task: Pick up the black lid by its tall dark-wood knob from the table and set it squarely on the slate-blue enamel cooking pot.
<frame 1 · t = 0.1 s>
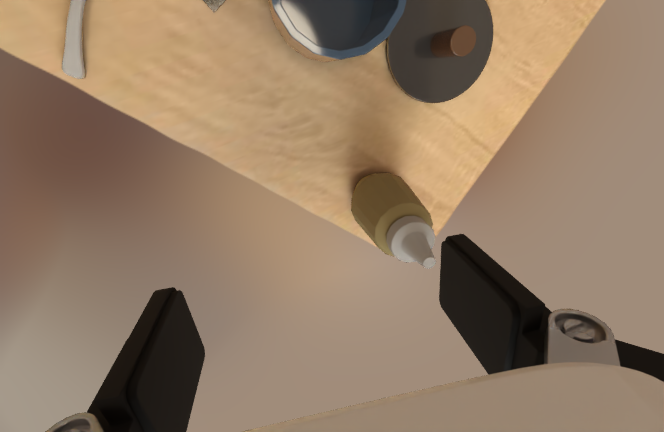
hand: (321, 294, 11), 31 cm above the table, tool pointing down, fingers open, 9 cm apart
spoon: (84, 16, 32), on the table
pot: (324, 0, 34), on the table
lid: (439, 45, 37), point 1 cm above the table
squeeze bottle: (373, 192, 45), on the table
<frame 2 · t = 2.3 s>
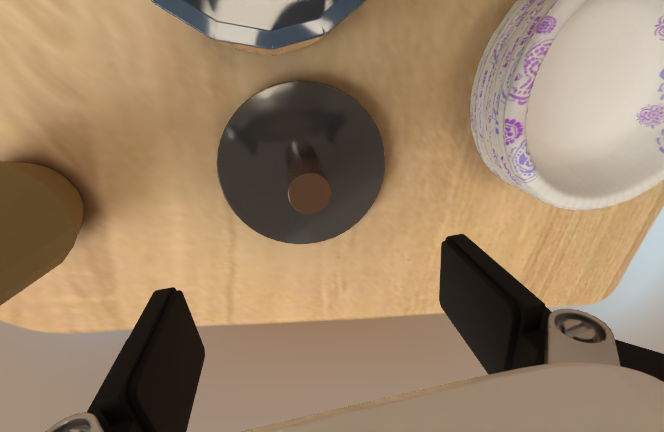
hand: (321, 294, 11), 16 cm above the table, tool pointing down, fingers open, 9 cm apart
paper bowls: (535, 87, 26), on the table
lid: (303, 169, 25), point 1 cm above the table
squeeze bottle: (42, 199, 24), on the table
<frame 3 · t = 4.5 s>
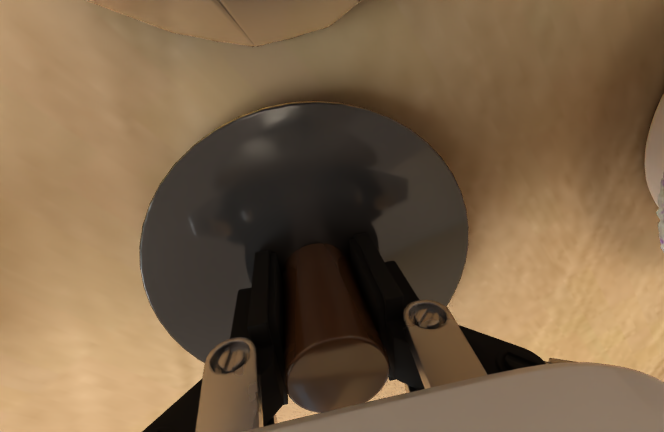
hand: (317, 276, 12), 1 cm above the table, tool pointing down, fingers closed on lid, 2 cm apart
lid: (315, 265, 13), point 1 cm above the table, touching gripper
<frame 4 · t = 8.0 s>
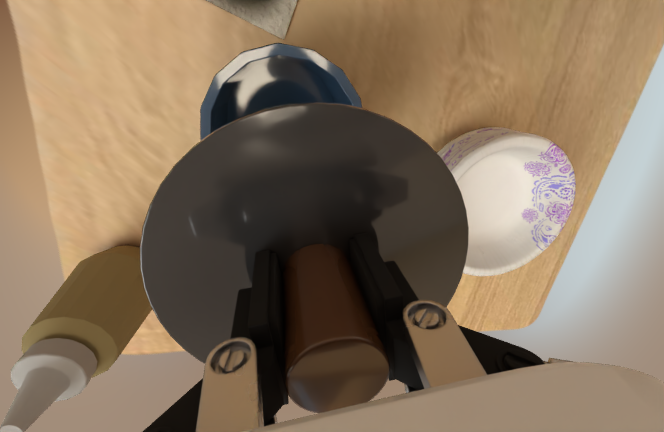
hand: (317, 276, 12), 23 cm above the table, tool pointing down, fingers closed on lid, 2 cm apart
pot: (282, 119, 32), on the table
paper bowls: (462, 187, 38), on the table
lid: (315, 265, 13), point 22 cm above the table, touching gripper
squeeze bottle: (132, 266, 35), on the table
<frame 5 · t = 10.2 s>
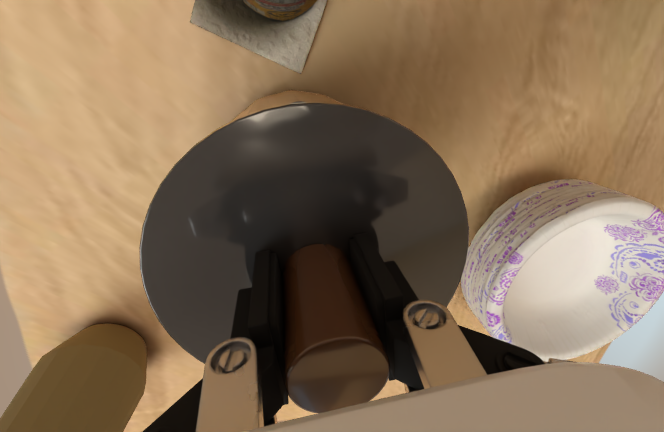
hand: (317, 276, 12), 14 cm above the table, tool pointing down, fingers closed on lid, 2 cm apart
pot: (298, 171, 25), on the table
paper bowls: (515, 242, 31), on the table
lid: (315, 265, 13), point 13 cm above the table, touching gripper
squeeze bottle: (113, 344, 29), on the table
when the fingers open (10 cm above the table, at t = 11.4 s): lid stays where it is, resting on pot.
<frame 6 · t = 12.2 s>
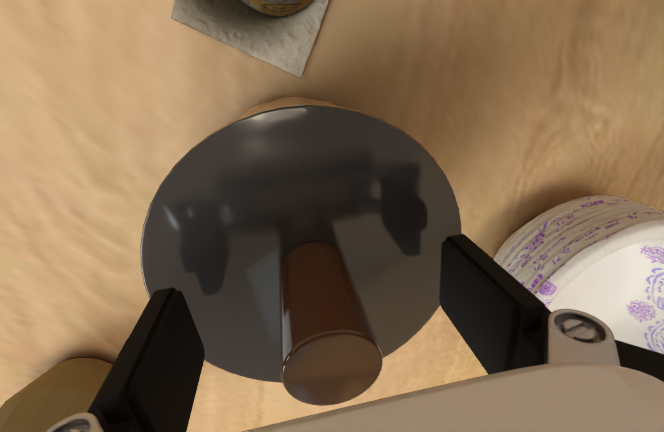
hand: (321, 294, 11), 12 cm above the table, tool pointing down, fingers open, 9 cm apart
pot: (298, 188, 22), on the table
paper bowls: (536, 261, 29), on the table
lid: (312, 263, 13), point 9 cm above the table, touching pot
squeeze bottle: (91, 379, 26), on the table
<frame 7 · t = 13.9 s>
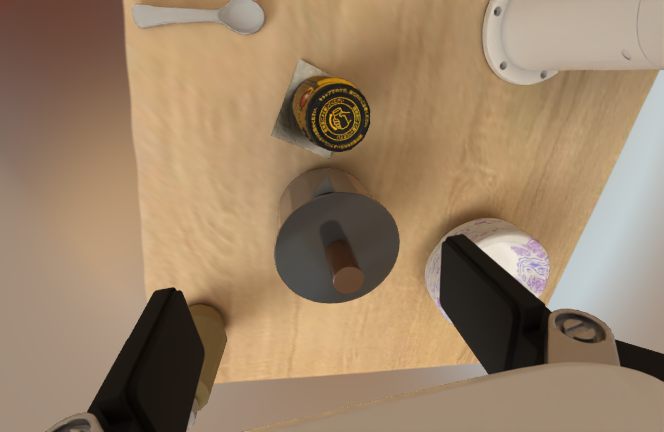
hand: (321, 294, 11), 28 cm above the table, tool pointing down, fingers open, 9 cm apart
condiment: (314, 112, 36), on the table
spoon: (202, 18, 31), on the table
pot: (324, 212, 41), on the table
paper bowls: (462, 254, 48), on the table
lid: (337, 249, 33), point 9 cm above the table, touching pot
squeeze bottle: (201, 319, 45), on the table
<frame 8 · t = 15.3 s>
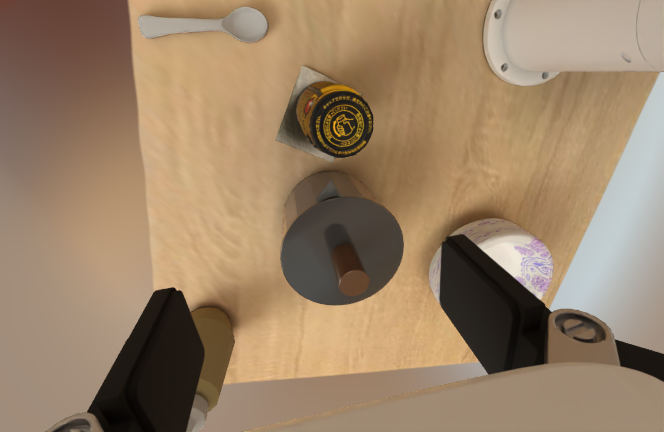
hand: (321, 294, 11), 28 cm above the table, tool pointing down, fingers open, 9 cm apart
condiment: (318, 116, 36), on the table
spoon: (207, 27, 31), on the table
pot: (329, 214, 42), on the table
paper bowls: (466, 254, 48), on the table
lid: (342, 252, 33), point 9 cm above the table, touching pot
squeeze bottle: (208, 321, 46), on the table
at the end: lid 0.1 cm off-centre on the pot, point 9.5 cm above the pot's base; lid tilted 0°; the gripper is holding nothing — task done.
